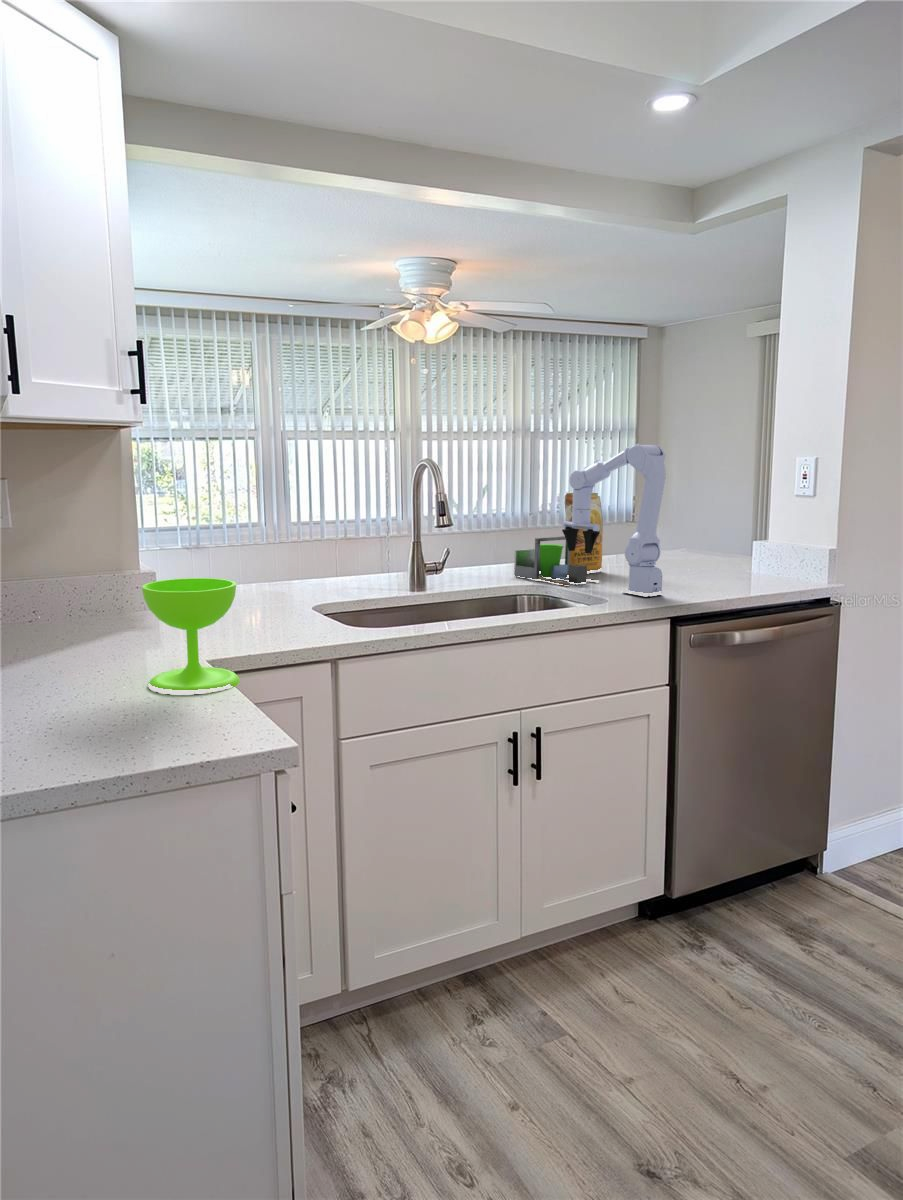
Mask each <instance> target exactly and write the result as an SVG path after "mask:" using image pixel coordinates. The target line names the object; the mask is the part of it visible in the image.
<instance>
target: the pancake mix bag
mask: <svg viewBox="0 0 903 1200" xmlns="http://www.w3.org/2000/svg"><path fill="white" fill-rule="evenodd" d="M572 508H573V492H571V493H566V494H565V495H564V511H565V521H569V522H572ZM590 523H592V524H598V525H600V529H599V532H600V534H599V535H598V537H597V539H596V541H595V543H594V546H593V549H592V553H585V539H584V535H583V531H588V530H584V529H579V531H578V533H577V537H576V546H575V551H570V565H576V564H579V565H585V566H587V571H590V570H598V569H600V568H602V569H603V567H602V566H603V565H602V562H603V541H604V539H603V538H604V528H603V527H604V526H603V525H604V521H603V511H602V502H601V497H600V495H599V493H596V492H593V493H592V494H591V514H590ZM575 527H581V526H575ZM582 528H584V527H582Z"/></svg>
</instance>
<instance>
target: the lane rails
mask: <svg viewBox="0 0 903 1200" xmlns="http://www.w3.org/2000/svg"><path fill="white" fill-rule="evenodd" d="M567 575H569V574H567ZM537 579H541V580H545V581H550V582H554V583H559V584H563V585H570V586H571V584H570V583H568V582H566V581H561V580H552V579H546V578H542V577H541V576H539V577H537ZM586 579H591V580H599V579H598V578H597V579H596V578H592V577H587V576H586Z"/></svg>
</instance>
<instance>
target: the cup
mask: <svg viewBox="0 0 903 1200" xmlns="http://www.w3.org/2000/svg"><path fill="white" fill-rule="evenodd" d="M563 548H564V545H562V544H549V543H548V544H546V543H543V544H540V571H541V575H540V577H541V576H543V577H551V566H552V565H559V564H561V558H562V553H563Z"/></svg>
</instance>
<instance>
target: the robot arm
mask: <svg viewBox="0 0 903 1200" xmlns="http://www.w3.org/2000/svg"><path fill="white" fill-rule="evenodd" d="M665 458H666V453H665V451H664V450H663V449H662V448H661V446H659V445H657V444H638V443H637V444H633V445H631V446H629V447H626V448H625V449H624V450H623V451H620V452H619V453H618V454H615V455H614V456H613V457H611V458H609V459H608V460H606V461H605V460H601V459H598V460H597V459H596V460H594V462H593V464H591V465H589V466H585V467H583V469H582V470H573V472H572V473H571V474H570V477H569V484H570V487H571V488H572V493H573V508H572V522H569V521H566V520H565V521H563V522H562V530H561V532H562V533H563V536H565V538H566V540H565V542H566V541H567V545H568V549H569V551H575V546H576V537H577V533H578V531H579V529H584V530H588V531H583V535H584V539H585V553H592V549H593V546H594V543H595V541H596V539H597V537H598V535H599V534H600V532H599V529H600V525H598V524H592V523H590V514H591V494H592V493H594V492H593V490H594V487H595V485H596V484H598V483H600V482H601V481H604V480H606V479H607V478H609V477H610V475H611V473H612V472H613V471H616V470H617V469H620V468H622V467H625V466H627V465H630V466H631V467H633V469H635V470H636V471H638V472H639V473H641V475H642V477H644V479H645V480H644V486H643V492H642V498H641V503H640V508H639V515H638V520H637V525H636V531H635V532H634V534H633V535H631V536H630V538H629V541H628V545H627V546H626V547H625V551H624V557H625V559H626V560H625V561H627V563H628V566H629V571H628V590H630V591H635V592H643V593H653V592H659V591H663V590H662V589H663V588H662V587H663V572H662V570H661V568H659V567H656V566H655V565H656V564H657V561H658V560H659V559H660V557H661V548H660V541H661V540H660V538H659V537H658V536H657V535H656V531H657V526H658V521H659V514H660V509H661V504H662V499H663V494H664V488H665V483H666V482H665V481H666V477H667V473H666V467H665V460H666V459H665ZM575 526H581V527H575ZM582 527H584V528H582ZM563 528H564V529H563ZM628 590H627V591H628Z"/></svg>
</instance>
